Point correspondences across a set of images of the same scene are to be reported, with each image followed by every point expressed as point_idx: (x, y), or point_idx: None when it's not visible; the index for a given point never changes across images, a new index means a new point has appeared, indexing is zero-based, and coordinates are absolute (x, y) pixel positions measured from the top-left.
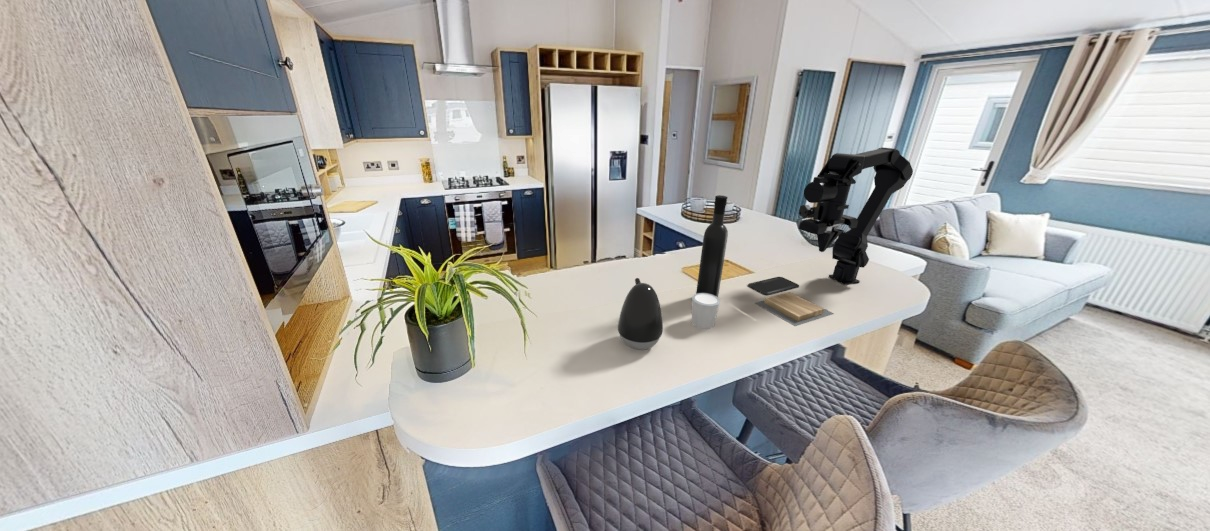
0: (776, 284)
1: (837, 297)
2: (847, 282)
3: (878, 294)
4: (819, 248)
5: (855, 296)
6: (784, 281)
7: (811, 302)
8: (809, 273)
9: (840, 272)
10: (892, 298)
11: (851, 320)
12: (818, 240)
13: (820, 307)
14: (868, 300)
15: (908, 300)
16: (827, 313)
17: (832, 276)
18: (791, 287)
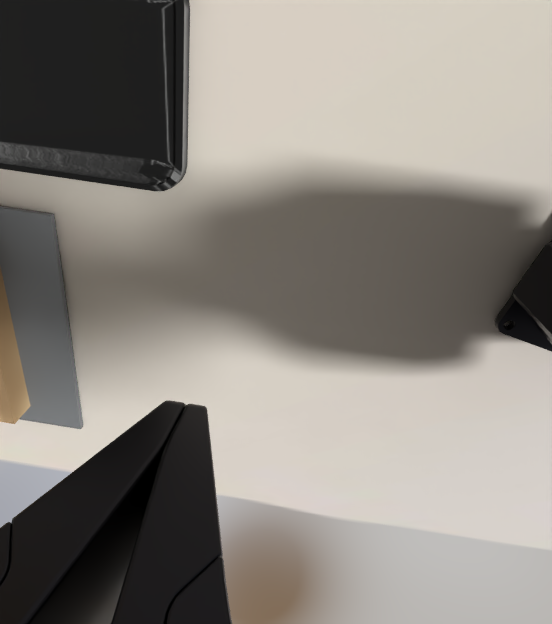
0: (26, 69)
1: (265, 371)
2: (520, 338)
3: (489, 461)
4: (138, 430)
5: (361, 413)
6: (134, 68)
7: (67, 334)
8: (536, 63)
9: (541, 323)
10: (488, 501)
11: None
12: (2, 540)
13: (8, 410)
14: (366, 455)
15: (520, 536)
16: (53, 414)
17: (546, 246)
18: (97, 171)
